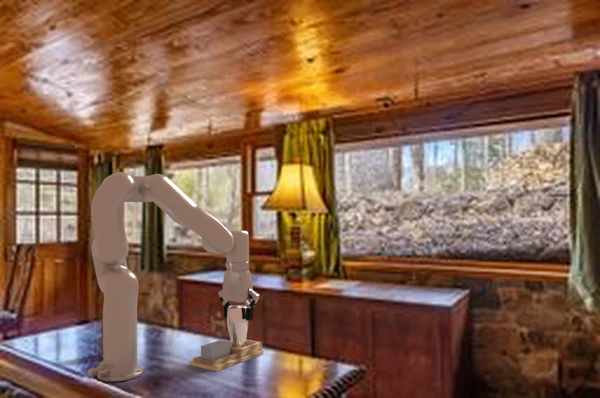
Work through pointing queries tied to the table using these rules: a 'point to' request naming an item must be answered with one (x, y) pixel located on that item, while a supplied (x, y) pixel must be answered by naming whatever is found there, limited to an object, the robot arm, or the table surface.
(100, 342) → the cat figurine
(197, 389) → the table surface
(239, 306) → the beer glass
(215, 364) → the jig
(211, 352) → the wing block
